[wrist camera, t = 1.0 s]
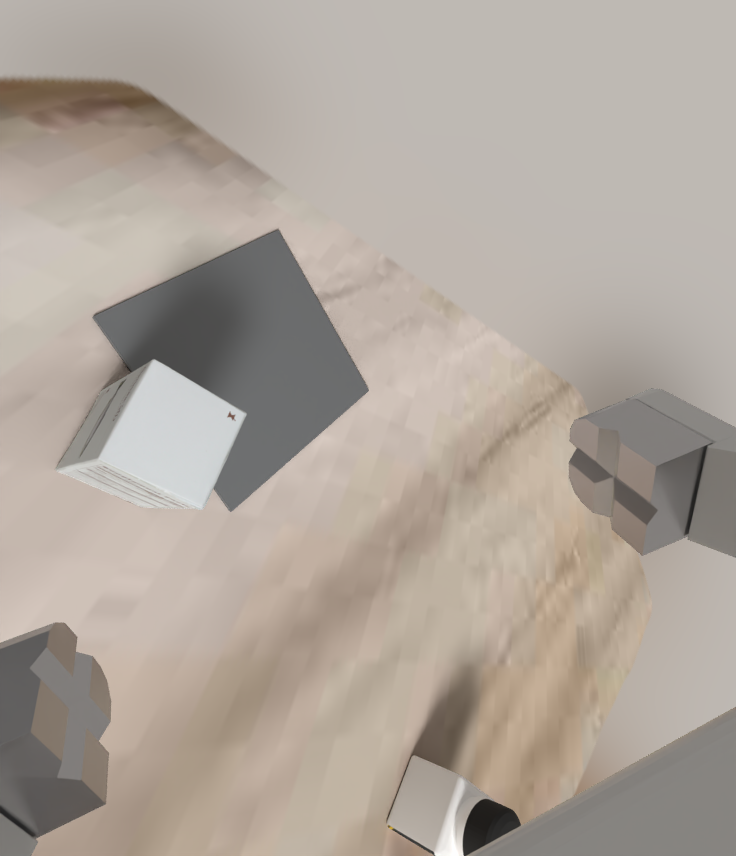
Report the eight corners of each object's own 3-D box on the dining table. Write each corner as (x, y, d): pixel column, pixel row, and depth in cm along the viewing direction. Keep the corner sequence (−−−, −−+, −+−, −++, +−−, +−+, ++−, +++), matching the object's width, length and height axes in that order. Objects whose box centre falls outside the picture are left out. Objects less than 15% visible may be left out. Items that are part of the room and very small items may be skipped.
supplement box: (100, 387, 43) (155, 352, 33) (182, 432, 46) (252, 412, 37) (49, 471, 40) (94, 458, 30) (141, 511, 44) (206, 512, 34)
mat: (229, 511, 49) (231, 511, 49) (92, 317, 43) (93, 316, 43) (367, 390, 62) (369, 390, 62) (276, 230, 57) (278, 229, 56)
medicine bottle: (384, 824, 56) (478, 881, 47) (411, 753, 60) (502, 792, 51) (422, 848, 59) (517, 905, 50) (445, 778, 63) (538, 820, 54)
